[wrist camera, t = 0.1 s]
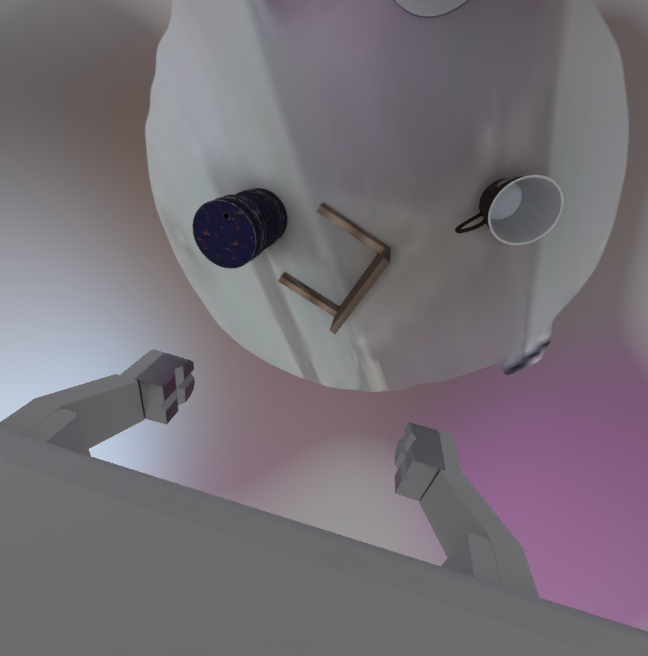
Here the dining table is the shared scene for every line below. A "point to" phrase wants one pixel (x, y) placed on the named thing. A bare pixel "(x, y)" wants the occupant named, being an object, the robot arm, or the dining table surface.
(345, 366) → the dining table surface
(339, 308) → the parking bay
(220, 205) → the dark blue cylinder
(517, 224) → the coffee mug
